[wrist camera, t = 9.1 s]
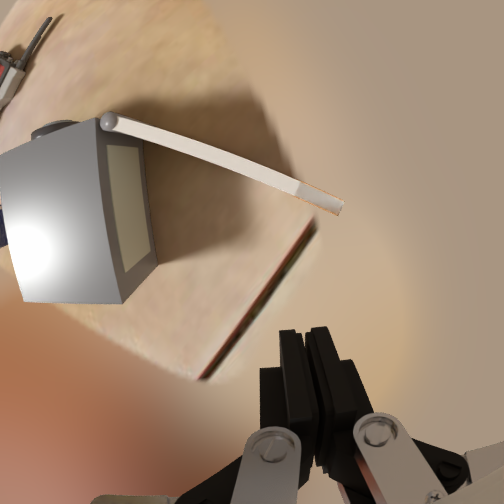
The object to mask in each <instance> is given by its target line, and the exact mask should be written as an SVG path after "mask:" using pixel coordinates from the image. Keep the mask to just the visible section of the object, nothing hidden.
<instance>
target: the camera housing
mask: <svg viewBox="0 0 504 504" xmlns="http://www.w3.org/2000/svg"><path fill="white" fill-rule="evenodd" d="M100 120H101V119H99V118H92V119H89V120H86V121H83V122H76V121H72V120H60V121H55V122H51V123H48V124H46V125H44V126H43V127H42V128H39V129H37V130H35V131H34V132H32V134H31V141H29V142H27V143H25V144H22V145H20V146H18V147H16V148H14V149H11V150H9V151H7V152H5V153H3V154H1V155H0V196H1V204H2V211H3V217H4V223H5V229H6V234H7V239H8V244H9V249H10V253H11V257H12V261H13V265H14V269H15V273H16V277H17V280H18V284H19V287H20V290H21V293H22V297H23V300H24V302H42V303H43V302H44V303H71V304H123V303H124V302H125V301H126V300H127V298H128V297H129V296H130V295H131V294H132V293H133V292H134V291H135V290H136V289H137V287H138V286H139V285H140V284H141V283H142V282H143V281H144V280H145V279H146V278H147V277H148V276H149V274H150V273H151V272H152V271H153V270H154V269H155V268H156V267H157V266H158V263H157V257H156V251H155V245H154V238H153V232H152V225H151V218H150V210H149V202H148V194H147V185H146V176H145V165H144V154H143V141H142V139H141V138H138V137H135V136H132V135H127V134H122V133H116V132H110V131H105V130H103V129H102V128H101V126H100Z"/></svg>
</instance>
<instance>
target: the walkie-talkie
mask: <svg viewBox="0 0 504 504" xmlns="http://www.w3.org/2000/svg"><path fill="white" fill-rule="evenodd" d="M52 19H53V18H52V17H48V18H47V19H46V20H45V22H44V23H43V25H42V26H41V28H40V29H39V31H38V32H37V34H36V35H35V37H34V38H33V40H32V41H31V43H30V45H29V46H28V48H27V50H26V51H25V53H24V55H23V56H22V58H21V60H16V61H15V62H13V61H12V60H13V58H11V57H10V56H11V54H9V53H7V52H4V51H0V111H1V109H2V108H3V107H4V106H5V105H6V104H7V103H8V102H9V101H10V100H12V98H13V96H14V94H15V92H16V90H17V88H18V86H19V84H20V82H21V80H22V78H23V77H24V75H25V72H24V71H23V69H24V67H25V65H26V63H27V60H28V58H29V56H30V55H31V53H32V51H33V50H34V48H35V46H36V45H37V43H38V42H39V40H40V38H41V35H42V34H43V32H44V31H45V29H46V28H47V26H48V25H49V23H50V22H51V20H52Z"/></svg>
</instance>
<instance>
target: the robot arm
mask: <svg viewBox="0 0 504 504" xmlns="http://www.w3.org/2000/svg"><path fill="white" fill-rule="evenodd" d="M279 338H280V367H271V368H260V430H258V431H257V432H254V433H253V434H252V435H251V436H250V437H249V438H248V440H247V442H246V444H245V448H244V452H243V455H242V456H241V457H239V458H238V459H236V460H235V461H234V462H232V463H230V464H229V465H228V466H226V467H225V468H223V469H222V470H220V471H219V472H217V473H216V474H214V475H213V476H211V477H210V478H208V479H207V480H205V481H204V482H202V483H201V484H199V485H197V486H196V487H194V488H192V489H191V490H189V491H187V492H186V493H184V494H183V495H182V496H180V497H169V498H168V497H167V496H166V495H162V496H127V495H126V496H125V495H100V496H98V497H96V498H94V500H93V501H92V502H91V503H90V504H296V502H297V493H298V490H299V489H300V488H301V487H302V486H303V485H304V484H305V483H306V482H307V481H308V480H309V474H310V468H311V467H312V464H313V458H314V456H315V462H316V466H317V467H318V466H322V469H323V474H325V473H328V474H329V477H330V478H332V479H333V480H335V481H337V485H338V488H339V491H340V493H341V496H342V498H343V500H344V503H345V504H504V441H503V442H500V443H497V444H494V445H490V446H486V447H483V448H480V449H475V450H471V451H467V452H465V454H464V455H459V454H456V453H454V452H451V451H447V450H444V449H441V448H438V447H435V446H432V445H429V444H426V443H424V442H421V441H418V440H415V439H413V438H411V437H410V436H409V434H408V433H407V431H406V430H405V428H404V427H403V425H402V424H401V422H400V421H399V420H398V419H397V418H395V417H394V416H392V415H390V414H386V413H374V411H373V408H372V406H371V404H370V401H369V398H368V396H367V393H366V391H365V389H364V386H363V384H362V381H361V379H360V376H359V374H358V372H357V369H356V367H355V365H354V362H353V361H352V360H351V359H349V360H341V361H340V359H339V356H338V354H337V351H336V348H335V346H334V343H333V341H332V338H331V335H330V332H329V330H328V328H327V327H326V326H324V327H315V328H311V332H306V333H305V346H304V342H303V338H302V334H301V333H296V332H295V330H294V329H292V330H281V331H279Z"/></svg>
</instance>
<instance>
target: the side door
mask: <svg viewBox="0 0 504 504" xmlns="http://www.w3.org/2000/svg"><path fill="white" fill-rule="evenodd" d="M100 126H101V128H102V129H103V130H105V131H110V132H116V133H122V134H127V135H132V136H135V137H138V138H141V139H144V140H147V141H151V142H154V143H157V144H160V145H163V146H166V147H169V148H172V149H175V150H177V151H180V152H183V153H186V154H189V155H192V156H195V157H197V158H200V159H203V160H206V161H208V162H211V163H214V164H216V165H219V166H222V167H224V168H227V169H230V170H232V171H235V172H237V173H240V174H242V175H245V176H248V177H250V178H253V179H255V180H258V181H260V182H262V183H265V184H267V185H270V186H272V187H275V188H277V189H279V190H282V191H284V192H286V193H289V194H291V195H293V196H294V197H296V198H298V199H301V200H303V201H305V202H308V203H310V204H312V205H314V206H317V207H319V208H321V209H323V210H325V211H328V212H330V213H332V214H334V215H336V216H338V215H339V213H340V211H341V208H342V206H343V204H344V201H343V200H341V199H339V198H337V197H335V196H333V195H331V194H329V193H326V192H324V191H322V190H320V189H317V188H315V187H313V186H311V185H309V184H307V183H304V182H302V181H300V180H297V179H294V178H291V177H289V176H286V175H284V174H282V173H279V172H277V171H275V170H272V169H270V168H267V167H265V166H262V165H260V164H257V163H255V162H252V161H250V160H247V159H245V158H242V157H240V156H237V155H234V154H232V153H229V152H226V151H224V150H221V149H218V148H215V147H213V146H210V145H207V144H204V143H201V142H199V141H196V140H193V139H190V138H187V137H184V136H181V135H178V134H175V133H172V132H169V131H166V130H162V129H159V128H156V127H155V126H154V125H151V124H148V123H145V122H142V121H139V120H136V119H133V118H130V117H127V116H124V115H120V114H117V113H114V112H107V113H105V114H104V115H103V116H102V118H101V120H100Z"/></svg>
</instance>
